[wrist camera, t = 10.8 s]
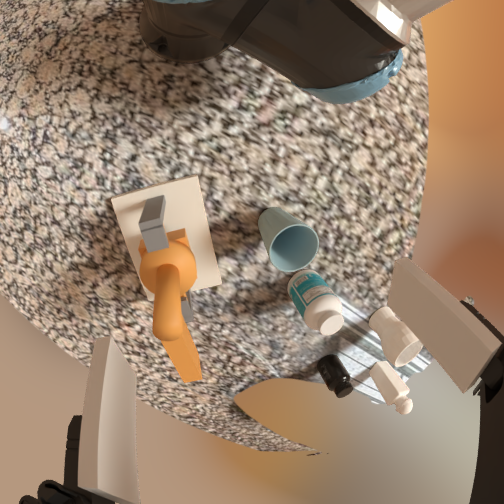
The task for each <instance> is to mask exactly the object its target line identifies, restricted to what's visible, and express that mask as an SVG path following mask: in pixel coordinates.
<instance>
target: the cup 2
mask: <svg viewBox="0 0 504 504" xmlns="http://www.w3.org/2000/svg"><path fill="white" fill-rule="evenodd" d="M369 327H370V328H371V329H372V330H374V331H375V332H376V333H377V334H378V336H379V338H380V339H381V346H382V349H383V352H384V355H385V357H386V358H387V359H388V361H390V362H391V363H392V364H393V365H395V366H396V367H400V366H403V365H405V364H407V363H408V362H410V361H411V360H412V359H413V358H415V357H416V355H417V354H418V353H419V352H420V351H421V349H422V347H423V344H422V343H421V342H420V340H419V339H418V338H417V337H416V336H415V335H414V333H413V332H412V331H411V330H410V329H409V328H408V327H407V326H406V324H405V323H404V322H402V321H400V320H399V319H398V318H396V317H395V315H394V313H393V312H392V310H391V309H390V307H382V308H380V309H378V310H377V311H376V312H375V313H374V314H373V315H372V316H371V318H370V320H369Z"/></svg>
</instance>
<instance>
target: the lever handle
mask: <svg viewBox="0 0 504 504" xmlns="http://www.w3.org/2000/svg"><path fill="white" fill-rule="evenodd" d="M163 226H164V224H163ZM164 229H165V228H164ZM165 233H166V231H165ZM166 236H167V239H168V243H169V248H165V249H161V250H157V251H153V252H150V253H148V252H147V249H146V246H145V243H144V240H143V239H141V240H140V244H139V248H138V250H139V253H140V256H141V264H140V270H139V274H140V279H141V281H142V283H143V285H144V286H145V287H146V288H147V289H148V290H149V291H150V292H152V293H153V294H155V296H154V311H153V334H154V335H155V337H156V338H158V339H160V340H161V342H162V344H163V346H164V348H165V349H166V351H167V353H168V355H169V357H170V359H171V360H172V362H173V364H174V366H175V368H176V369H177V371H178V373H179V375H180V376H181V378H182V380H183V381H184V383H186V382H191V381H196V380H201V379H202V374H201V368H200V361H199V354H198V352H197V349H196V347H195V345H194V342H193V340H192V338H191V335H190V333H189V330H188V328H187V326H186V323H185V321H184V318H183V316H182V312H181V297H185V296H186V292H187V291H188V290H189V289H190V288H191V287H192V286H193V285H194V283H195V281H196V279H197V268H196V261H195V257H194V254H193V252H192V251H191V248H190V245H189V241H188V237H187V234H186V230H185V228H183V229H179V230H175V231H171V232H167V233H166ZM186 297H187V296H186ZM187 300H188V299H187Z"/></svg>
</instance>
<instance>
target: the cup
mask: <svg viewBox="0 0 504 504" xmlns="http://www.w3.org/2000/svg"><path fill="white" fill-rule="evenodd" d="M258 228H259V231H260V234H261V236H262V239H263V242H264V244H265V247H266V250H267V253H268V255H269V258H270V261H271V263H272V264H273V265H274V266H275V267H276V268H277V269H279V270H281V271H285V272H294V271H298V270H300V269H302V268H304V267H306V266H307V265H308V264H309V263H310V262H311V261H312V260H313V259H314V257H315V256H316V254H317V251H318V247H319V240H318V236H317V234H316V232H315V231H314V230H313V229H312V228H311V227H309V226H308V225H306V224H305V223H303V222H301V221H300V220H298V219H297V218H295V217H293V216H292V215H290V214H289V213H287V212H286V211H284V210H282V209H281V208H277V207H272V208H269V209H267V210H265V211H264V212H263V213H262V214H261V215H260V217H259V220H258Z"/></svg>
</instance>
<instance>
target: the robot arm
mask: <svg viewBox="0 0 504 504" xmlns="http://www.w3.org/2000/svg"><path fill="white" fill-rule="evenodd" d="M142 1H143V3H144V7H143V9H142V12H141V15H140V22H139V26H140V32H141V35H142V38H143V40H144V42H145V44H146V45H147V46H148V48H149V49H150V50H151V51H152V52H153V53H155V54H156V55H158V56H159V57H161V58H163V59H165V60H168V61H172V62H176V63H197V62H202V61H206V60H209V59H211V58H214V57H216V56H218V55H219V54H221V53H222V52H224V51H225V50H226V49H228V48H229V47H230V46H233V47H235V48H236V49H238V50H240V51H242V52H244V53H246V54H248V55H249V56H251V57H253V58H255V59H257V60H258V61H260V62H262V63H263V64H265V65H267V66H268V67H270V68H272V69H273V70H275V71H277V72H278V73H280V74H281V75H283V76H285V77H286V78H288V79H289V80H291V83H292V84H293V85H295V86H296V87H297V88H299V89H302V90H304V91H307V92H309V93H310V94H312V95H313V96H315V97H316V98H318V99H320V100H322V101H324V102H327V103H331V104H347V103H352V102H356V101H359V100H361V99H364V98H366V97H368V96H370V95H372V94H374V93H376V92H377V91H379V90H380V89H382V88H383V87H384V86H385V85H387V84H388V83H389V79H388V78H389V77H392V76H396V74H397V73H398V71H399V70H400V68H401V65H402V61H403V53H402V50H401V48H403V47H404V46H406V45H408V44H409V43H410V38H411V26H412V23H413V22H414V21H416V20H418V19H419V18H421V17H423V16H425V15H426V14H428V13H430V12H432V11H434V10H436V9H438V8H440V7H441V6H443V5H445V4H447V3H449V2H451V1H453V0H142ZM387 305H388V306H389V307H390V308H391V309H392V310H393V311H394V312H395V313H396V314H397V316H398V317H399V318H400V319H401V320H402V321H403V322H404V323H405V324H406V326H407V327H408V328H409V329H410V330H411V331H412V332H413V333H414V335H415V336H416V337H417V338H418V339H419V340H420V342H421V343H422V344H423V345H424V346H425V347H426V349H427V350H428V351H429V352H430V353H431V354H432V356H433V357H434V358H435V359H436V360H437V362H438V363H439V364H440V365H441V366H442V368H443V369H444V370H445V371H446V373H447V374H448V375H449V376H450V378H451V379H452V380H453V381H454V383H455V384H456V385H457V386H458V387H459V389H460V390H461V391H462V393H465V392H466V391H467V390H468V389H469V388H471V387H472V386H473V385H474V384H475V382H476V381H477V380H478V378H479V377H481V379H482V380H481V381H480V383H479V384H478V385H477V387H476V388H475V390H474V391H473V395H475V394H476V393H477V392H478V391H479V389H480V391H479V392H478V395H479V396H480V410H481V411H480V434H479V448H478V457H477V465H476V472H475V478H474V483H473V489H472V494H471V498H470V503H469V504H504V336H503V335H502V334H501V333H500V332H499V331H498V330H497V329H496V328H495V327H494V326H493V325H492V324H491V323H490V322H489V321H488V320H487V319H485V318H484V316H482V315H481V314H479V312H478V311H477V310H476V309H475V308H474V307H473V306H472V305H470V304H468V303H466V302H464V301H460V302H459V301H458V300H457V299H456V298H455V297H454V296H452V295H451V294H450V293H449V292H448V291H447V290H446V289H445V288H444V287H442V286H441V285H440V284H439V283H438V282H437V281H435V280H434V279H433V278H432V277H431V276H430V275H428V274H427V273H426V272H425V271H424V270H422V269H421V268H420V267H419V266H417V265H416V264H415V263H414V262H413V261H411V260H410V259H409V258H408V257H404V258H401V259H398V260H395V264H394V270H393V276H392V282H391V287H390V292H389V297H388V302H387ZM136 381H137V374H136V373H135V371H134V370H133V369H132V367H131V366H130V364H129V363H128V361H127V360H126V358H125V357H124V355H123V354H122V352H121V351H120V349H119V348H118V346H117V345H116V343H115V341H114V340H113V338H112V337H111V336H108V337H102V338H97V339H96V342H95V346H94V351H93V355H92V360H91V365H90V370H89V376H88V381H87V387H86V393H85V400H84V407H83V414H82V415H80V416H78V415H77V416H73V418H72V420H71V422H70V424H69V426H68V435H67V439H68V441H67V444H66V448H67V450H66V455H65V469H64V484H63V485H61V484H59V483H57V482H55V481H53V480H46V481H44V482H42V484H40V486H39V488H38V492H37V493H38V499H36V498H34V497H32V496H30V495H25V496H23V497H22V498H21V499H20V501H19V504H115V502H116V503H119V504H141V502H140V493H139V483H138V470H137V453H136Z"/></svg>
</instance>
